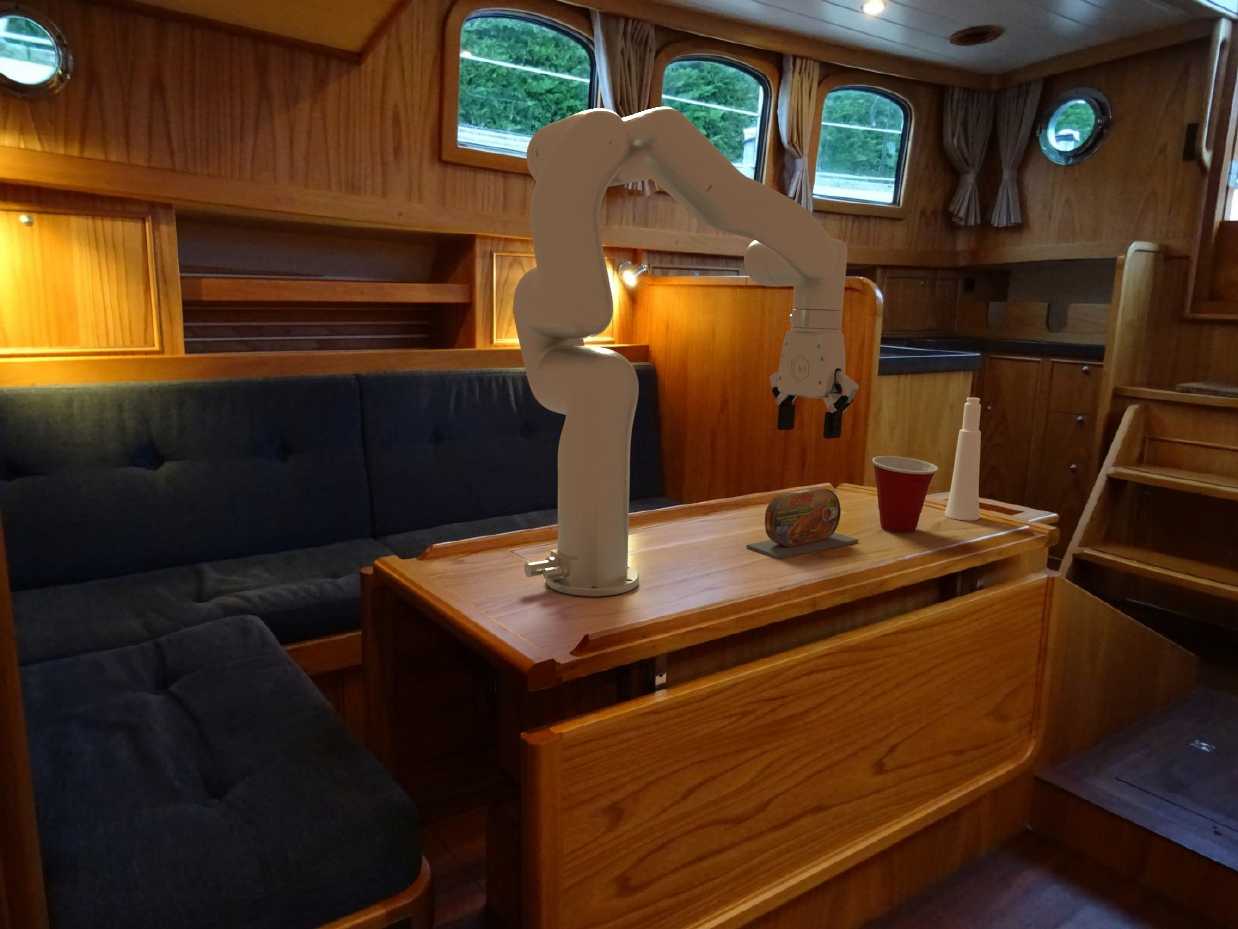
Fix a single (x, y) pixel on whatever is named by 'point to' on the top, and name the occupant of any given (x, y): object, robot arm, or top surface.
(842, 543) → the mat
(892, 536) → the top surface
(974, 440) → the cosmetic bottle
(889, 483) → the plastic cup
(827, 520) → the tin
